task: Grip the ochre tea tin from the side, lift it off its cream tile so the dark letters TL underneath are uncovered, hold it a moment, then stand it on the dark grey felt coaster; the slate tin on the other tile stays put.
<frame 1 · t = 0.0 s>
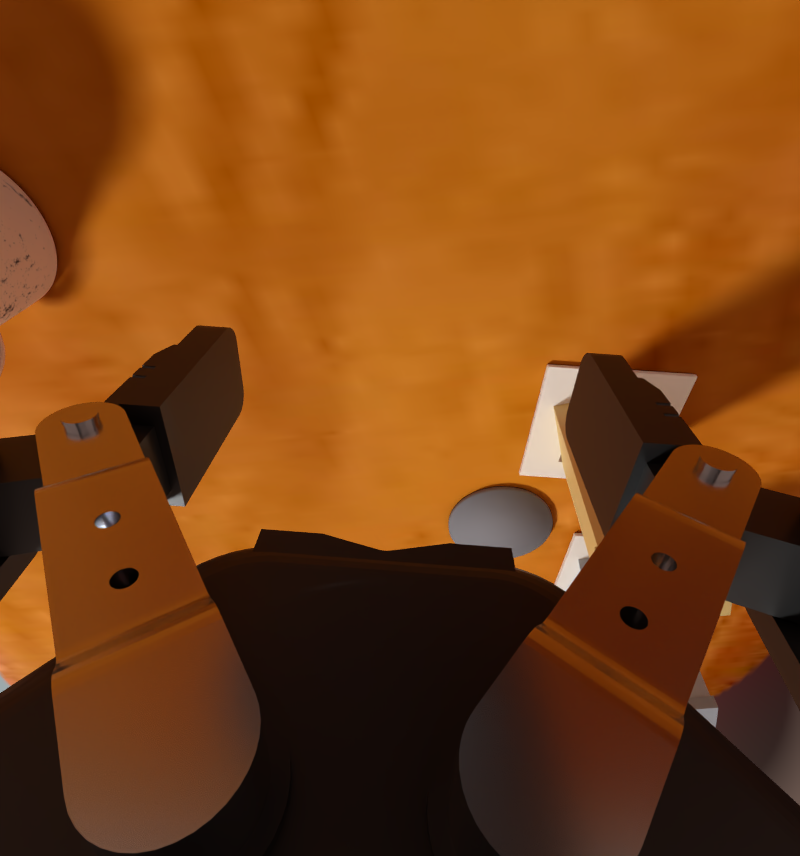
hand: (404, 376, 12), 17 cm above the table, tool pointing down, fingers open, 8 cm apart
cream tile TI: (614, 571, 43), on the table
ochre tea tin: (601, 430, 33), resting on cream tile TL
felt coaster: (499, 522, 40), on the table
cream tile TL: (599, 427, 34), on the table
slate tea tin: (615, 574, 43), resting on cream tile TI
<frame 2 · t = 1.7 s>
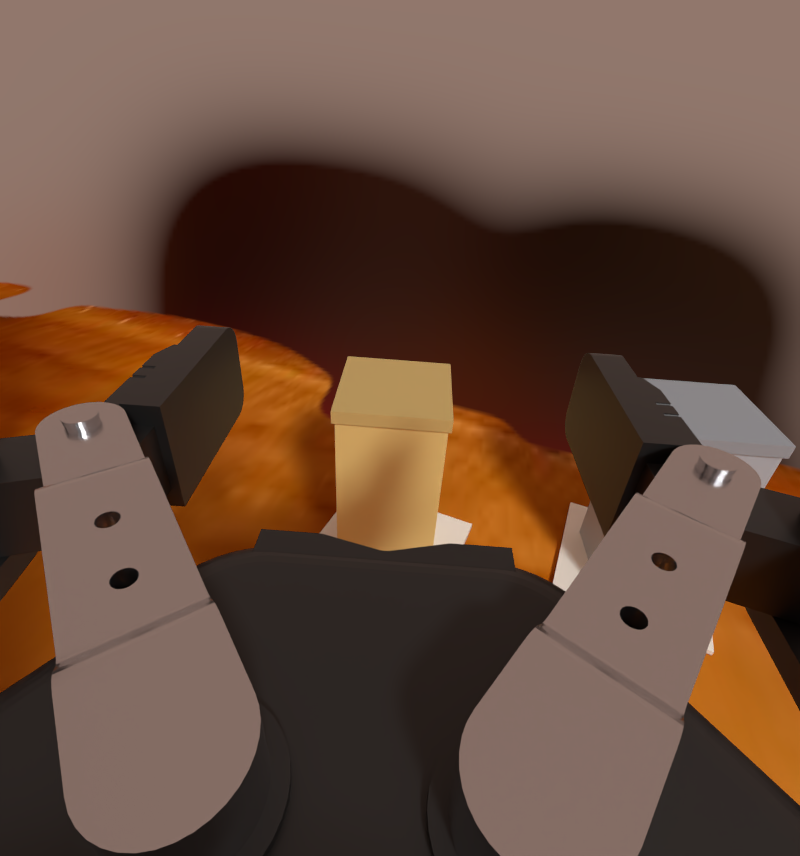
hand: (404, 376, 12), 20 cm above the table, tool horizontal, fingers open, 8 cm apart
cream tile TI: (630, 569, 33), on the table
ochre tea tin: (386, 546, 33), resting on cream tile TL
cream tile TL: (386, 549, 33), on the table
slate tea tin: (631, 566, 33), resting on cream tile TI
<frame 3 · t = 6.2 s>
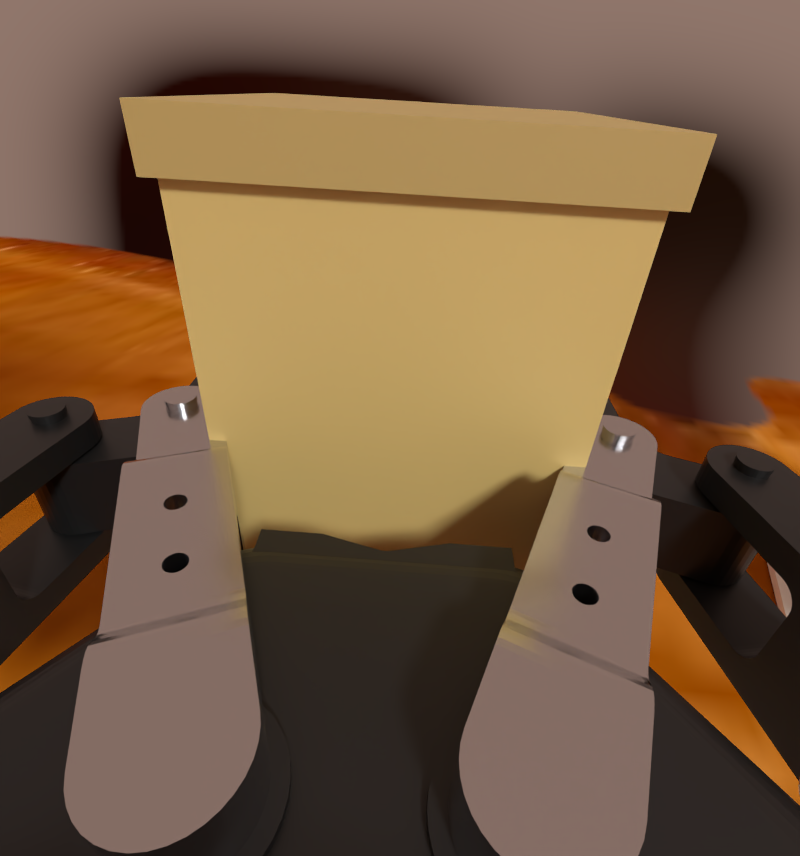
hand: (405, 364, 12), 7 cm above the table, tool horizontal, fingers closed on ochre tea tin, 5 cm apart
ochre tea tin: (389, 621, 14), resting on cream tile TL, touching gripper
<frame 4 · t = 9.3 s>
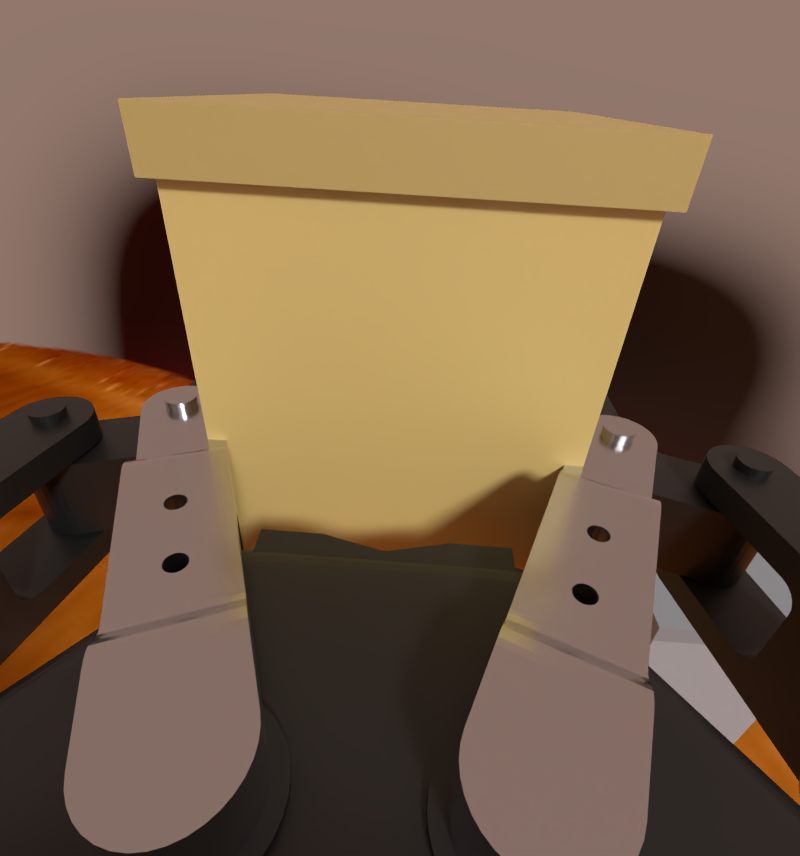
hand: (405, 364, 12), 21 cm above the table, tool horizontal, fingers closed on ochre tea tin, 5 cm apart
ochre tea tin: (388, 620, 14), point 14 cm above the table, touching gripper
slate tea tin: (613, 722, 26), resting on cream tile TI
when the fingers open (9 cm above the table, at t = 12.5 s): ochre tea tin drops 2 cm, resting on felt coaster.
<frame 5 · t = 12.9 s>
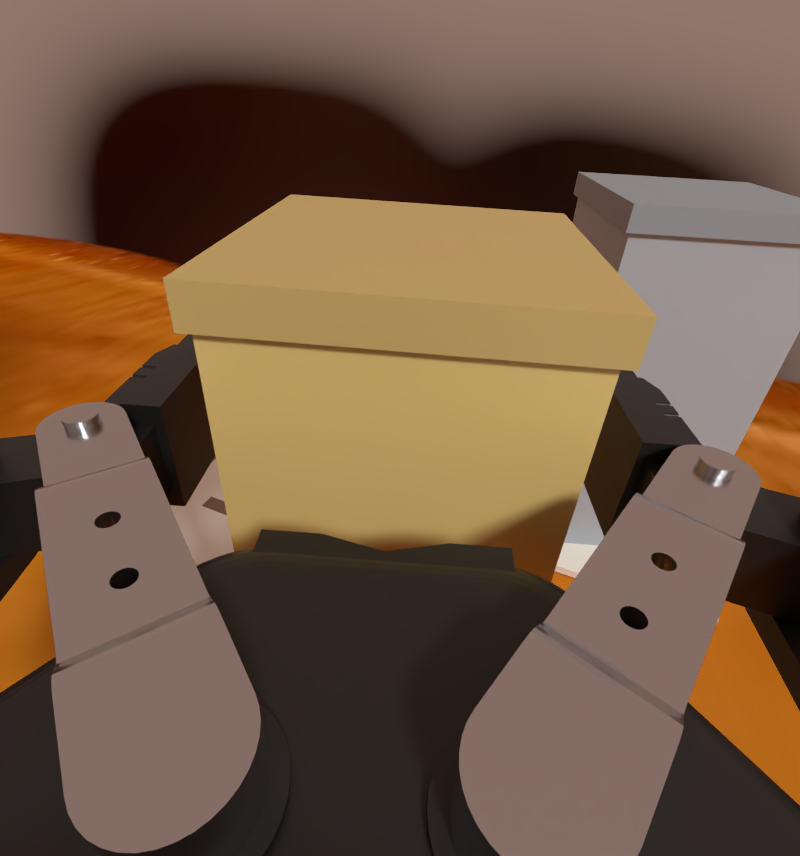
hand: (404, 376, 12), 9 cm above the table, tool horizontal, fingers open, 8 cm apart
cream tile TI: (590, 503, 22), on the table
ochre tea tin: (389, 658, 15), resting on felt coaster
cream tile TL: (224, 477, 22), on the table
slate tea tin: (592, 498, 22), resting on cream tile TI
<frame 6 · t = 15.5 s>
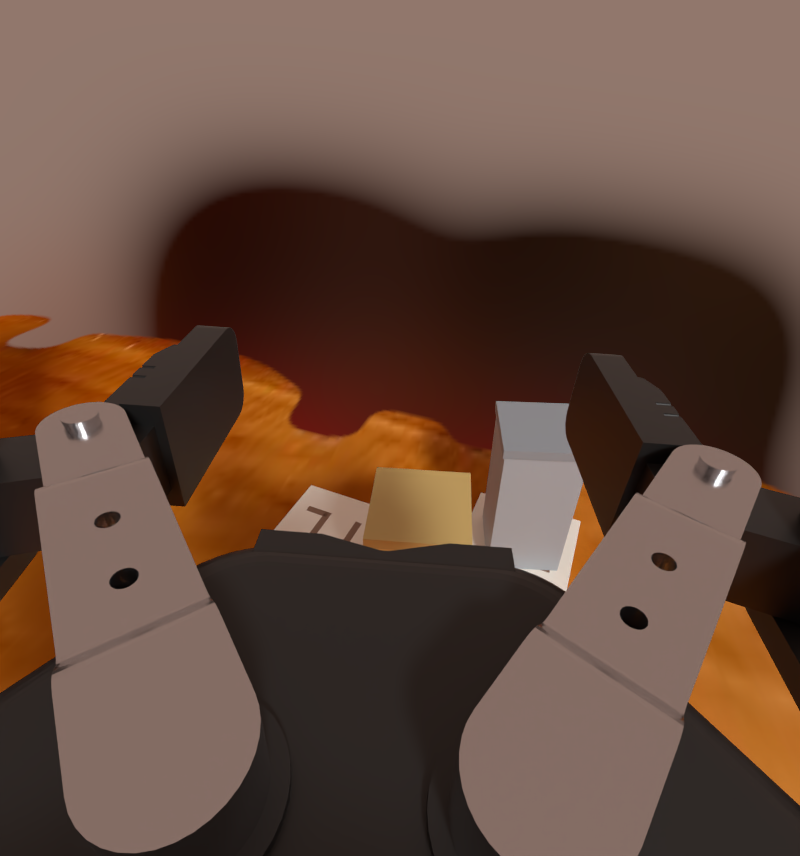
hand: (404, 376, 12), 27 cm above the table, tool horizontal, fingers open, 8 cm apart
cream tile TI: (517, 544, 43), on the table
ochre tea tin: (416, 623, 36), resting on felt coaster
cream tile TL: (328, 535, 43), on the table
slate tea tin: (517, 541, 42), resting on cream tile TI
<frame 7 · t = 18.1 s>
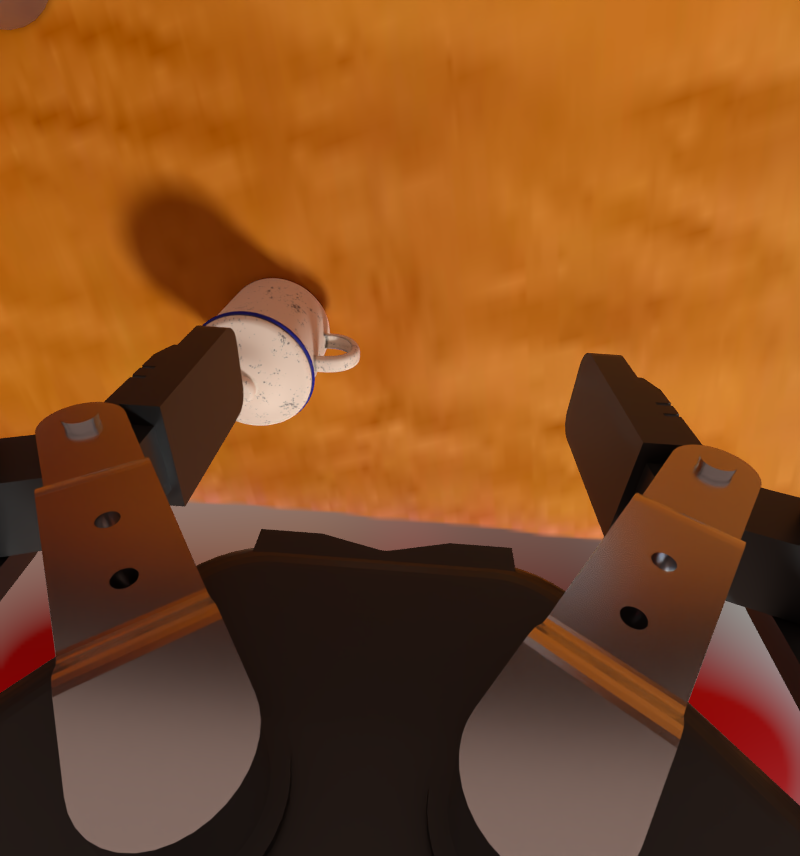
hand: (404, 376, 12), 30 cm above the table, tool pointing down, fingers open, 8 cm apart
teacup with lid: (298, 325, 44), on the table
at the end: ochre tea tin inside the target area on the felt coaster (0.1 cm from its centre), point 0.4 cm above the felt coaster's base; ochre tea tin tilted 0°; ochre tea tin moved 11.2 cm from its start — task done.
